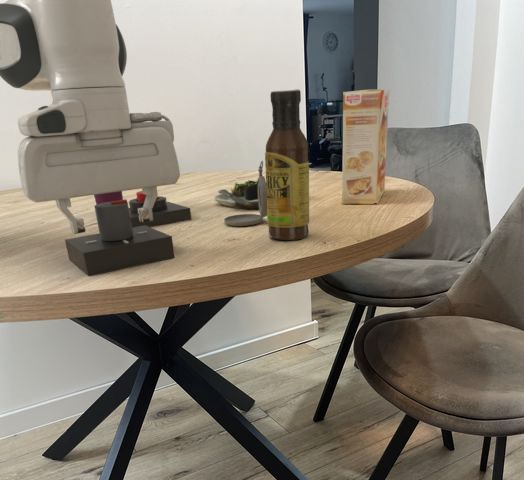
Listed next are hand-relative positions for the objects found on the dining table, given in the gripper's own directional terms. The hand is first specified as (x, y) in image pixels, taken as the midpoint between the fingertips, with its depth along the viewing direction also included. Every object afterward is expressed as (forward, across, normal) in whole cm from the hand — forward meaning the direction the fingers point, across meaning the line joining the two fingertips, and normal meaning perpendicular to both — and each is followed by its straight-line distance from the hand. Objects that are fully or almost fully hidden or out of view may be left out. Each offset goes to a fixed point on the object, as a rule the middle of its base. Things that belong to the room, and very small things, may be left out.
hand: (113, 226), depth 70 cm
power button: (+1, -13, -22) cm, 26 cm away
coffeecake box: (+4, -54, -9) cm, 55 cm away
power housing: (+4, -13, -22) cm, 26 cm away
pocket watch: (+5, -25, -6) cm, 26 cm away
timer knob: (+1, 0, 0) cm, 1 cm away
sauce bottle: (+5, -24, +7) cm, 26 cm away
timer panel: (+4, 0, 0) cm, 5 cm away
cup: (+5, -10, -36) cm, 38 cm away
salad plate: (+5, -37, -22) cm, 44 cm away
